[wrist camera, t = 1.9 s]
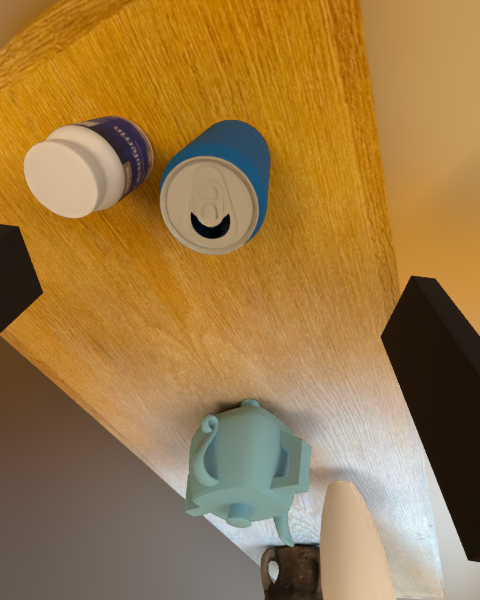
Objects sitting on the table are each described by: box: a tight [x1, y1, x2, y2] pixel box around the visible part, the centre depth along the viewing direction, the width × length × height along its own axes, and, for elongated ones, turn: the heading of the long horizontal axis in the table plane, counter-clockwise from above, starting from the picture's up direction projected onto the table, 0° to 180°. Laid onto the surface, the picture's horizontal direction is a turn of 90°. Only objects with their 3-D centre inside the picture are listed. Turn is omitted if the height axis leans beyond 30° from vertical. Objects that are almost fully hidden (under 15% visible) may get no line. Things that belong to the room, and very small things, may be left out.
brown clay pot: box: [261, 546, 323, 600], centre depth 81 cm, size 27×26×15 cm
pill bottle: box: [24, 116, 154, 218], centre depth 23 cm, size 6×6×10 cm
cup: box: [320, 481, 397, 600], centre depth 48 cm, size 10×10×22 cm
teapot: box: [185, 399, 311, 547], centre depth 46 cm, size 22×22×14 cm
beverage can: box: [159, 120, 270, 255], centre depth 22 cm, size 6×6×12 cm
